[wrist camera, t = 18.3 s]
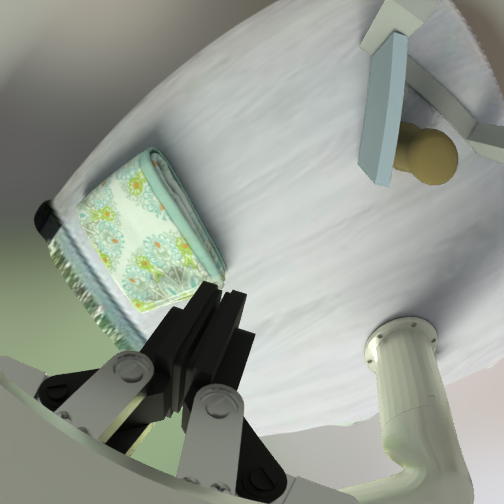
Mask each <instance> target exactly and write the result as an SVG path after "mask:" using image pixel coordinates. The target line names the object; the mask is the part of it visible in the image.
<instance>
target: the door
mask: <svg viewBox="0 0 504 504" xmlns="http://www.w3.org/2000/svg"><path fill="white" fill-rule="evenodd" d="M407 47H408V36H405V35H402V34H398V33H395V32H394V33H393V34H392V35H391V36H390V37H389V38H388V39H387V41H386V42H385V43H384V44H383V45H382V46H381V47H380V48H379V50H378V51H377V52H376V53H375V54H374V55H373V57H372V58H371V66H370V76H369V86H368V95H367V103H366V111H365V119H364V126H363V133H362V140H361V146H360V152H359V158H358V165H359V166H360V167H361V169H362V170H363V171H364V172H365V173H366V174H367V175H368V177H369V178H370V179H371V180H372V181H373V183H374V184H377V185H381V186H385V187H389V183H390V178H391V173H392V168H393V163H394V157H395V152H396V146H397V140H398V133H399V127H400V120H401V112H402V105H403V98H407V96H408V92H409V84H408V83H406V82H405V76H406V63H407Z"/></svg>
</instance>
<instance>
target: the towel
mask: <svg viewBox="0 0 504 504" xmlns="http://www.w3.org/2000/svg"><path fill="white" fill-rule="evenodd" d="M77 213H78V217H79V218H80V221H81V225H82V227H83V230H84V231H85V233H86V235H87V237H88V238H89V240H90V241H91V243H92V245H93V246H94V248H95V250H96V251H97V253H98V254H99V256H100V258H101V260H102V261H103V263H104V265H105V266H106V268H107V269H108V271H109V273H110V275H111V276H112V277H113V279H114V280H115V282H116V283H117V285H118V286H119V288H120V289H121V290H122V292H123V293H124V294H125V296H126V297H127V299H128V300H129V301H130V303H131V304H132V305H133V307H134V308H135V309H136V310H138V311H139V313H145V312H148V311H151V310H153V309H156V308H158V307H161V306H164V305H167V304H171V303H174V302H178V301H182V300H186V299H189V298H192V296H193V295H194V293H195V292H196V290H197V289H198V288H199V286H200V285H201V283H202V282H203V281H207V282H210V283H213V284H217V285H218V289H222V288H223V287H224V283H223V282H224V281H225V273H224V271H225V269H226V265H225V263H224V261H223V259H222V257H221V255H220V253H219V251H218V249H217V247H216V245H215V244H214V242H213V240H212V238H211V237H210V235H209V233H208V231H207V230H206V228H205V226H204V225H203V223H202V221H201V219H200V217H199V215H198V213H197V212H196V210H195V208H194V206H193V204H192V202H191V201H190V199H189V197H188V195H187V193H186V191H185V190H184V188H183V186H182V184H181V182H180V180H179V179H178V177H177V175H176V173H175V172H174V170H173V168H172V167H171V165H170V164H169V162H168V161H167V159H166V158H165V157H164V156H163V154H162V153H161V152H160V151H159V150H158V149H157V148H154V147H149V148H148V149H146V150H145V151H143V152H142V153H139V154H138V155H137V156H135V157H134V158H133V159H131V160H130V161H129V162H127V163H126V164H124V165H123V166H122V167H121V168H119V169H118V170H117V171H115V172H114V173H113V174H112V175H110V176H109V177H108V178H107V179H105V180H104V181H103V182H102V183H101V184H99V185H98V186H97V187H96V188H95V189H94V190H93V191H91V192H90V193H89V194H88V195H87V196H86V197H85V198H84V199H83V200H82V201H81V202H80V203H79V204H78V205H77Z"/></svg>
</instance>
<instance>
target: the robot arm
mask: <svg viewBox="0 0 504 504" xmlns="http://www.w3.org/2000/svg"><path fill="white" fill-rule="evenodd" d="M221 295H222V290H219V289H218V285H217V284H213V283H210V282H207V281H203V282H202V283H201V285H200V286H199V288H198V289H197V290H196V292H195V293H194V295H193V296H192V298H191V299H190V301H189V302H188V304H187V305H186V307H185V308H184V310H183V309H180V308H177V307H175V306H174V307H172V308H171V309H170V311H169V312H168V313H167V315H166V316H165V317H164V319H163V320H162V321H161V323H160V324H159V326H158V327H157V328H156V330H155V331H154V332H153V334H152V335H151V337H150V338H149V339H148V341H147V342H146V344H145V345H144V346H143V348H142V349H141V351H140V352H137V351H123V352H120V353H117V354H116V355H115V356H113V357H112V358H111V359H110V360H109V361H108V362H107V363H106V364H104V365H103V366H102V367H101V368H100V369H94V370H88V371H81V372H75V373H68V374H61V375H55V376H51V377H50V376H47V374H46V372H43V371H40V370H38V369H35V368H33V367H31V366H28V365H26V364H24V363H21V362H19V361H17V360H15V359H12V358H10V357H7V356H0V504H473V502H474V489H473V484H472V480H471V477H470V475H469V472H468V469H467V466H466V463H465V461H464V458H463V455H462V452H461V448H460V446H459V442H458V439H457V434H456V431H455V427H454V423H453V419H452V415H451V411H450V407H449V403H448V400H447V396H446V392H445V389H444V385H443V382H442V378H441V375H440V372H439V369H438V366H437V362H436V359H435V356H434V353H435V351H436V349H437V345H438V337H437V333H436V331H435V329H434V327H433V326H432V324H430V323H429V322H428V321H426V320H424V319H422V318H418V317H403V318H399V319H395V320H392V321H390V322H388V323H386V324H384V325H382V326H381V327H379V328H378V329H377V330H376V331H375V332H374V333H373V334H372V335H371V336H370V337H369V339H368V341H367V342H366V345H365V348H364V360H365V363H366V365H367V367H368V368H369V369H370V370H371V371H372V372H374V373H375V374H376V380H377V389H378V400H379V411H380V424H381V438H382V446H383V449H384V451H385V453H386V454H387V456H388V457H389V458H390V459H391V460H393V461H394V462H395V463H397V464H398V465H400V466H402V467H403V468H404V470H403V471H402V472H400V473H398V474H395V475H391V476H389V477H386V478H383V479H379V480H375V481H371V482H367V483H363V484H358V485H354V486H350V487H346V488H342V489H339V490H335V489H332V488H329V487H326V486H323V485H320V484H317V483H315V482H311V481H309V480H307V479H304V478H301V477H299V476H297V477H296V478H295V477H293V476H291V475H288V474H286V473H285V472H284V470H283V469H282V468H281V466H280V465H279V464H278V462H277V461H276V460H275V459H274V457H273V456H272V455H271V453H270V452H269V451H268V449H267V448H266V447H265V445H264V444H263V443H262V441H261V440H260V439H259V437H258V436H257V435H256V433H255V432H254V430H253V429H252V428H251V426H250V425H249V423H248V422H247V421H246V419H245V418H244V416H243V415H244V401H243V399H242V397H241V395H240V394H239V393H238V392H237V389H238V386H239V383H240V380H241V377H242V374H243V371H244V368H245V365H246V362H247V359H248V356H249V353H250V350H251V347H252V344H253V341H254V338H255V333H251V332H248V331H245V330H242V329H239V328H238V327H239V323H240V320H241V316H242V312H243V308H244V304H245V301H246V297H247V294H245V293H242V292H238V291H235V290H232V292H231V293H229V292H226V293H225V294H224V296H223V298H222V300H221ZM220 300H221V302H220ZM182 405H183V412H182V425H181V426H182V429H183V431H184V433H185V434H186V436H185V440H184V444H183V449H182V453H181V457H180V462H179V466H178V470H177V475H176V477H174V476H172V475H169V474H167V473H164V472H162V471H159V470H157V469H155V468H152V467H150V466H148V465H145V464H143V463H141V462H139V461H137V460H135V459H132V458H130V456H131V455H132V453H133V452H134V451H135V450H136V448H137V447H138V446H139V445H140V443H141V442H142V441H143V440H144V438H145V437H146V436H147V434H148V433H149V432H150V431H151V429H152V428H153V427H154V425H155V423H156V422H157V421H161V420H164V418H165V417H166V416H167V417H169V418H171V416H172V414H173V412H174V411H175V412H177V413H179V411H180V409H181V407H182Z"/></svg>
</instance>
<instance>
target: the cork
mask: <svg viewBox="0 0 504 504" xmlns="http://www.w3.org/2000/svg"><path fill="white" fill-rule="evenodd" d="M457 165H458V153H457V149H456V146H455V145H454V143H453V141H452V140H451V139H450V138H449V137H448V136H447V135H446V134H445V133H443V132H441V131H439V130H436V129H423V130H422V129H420V128H419V127H417V126H415V125H413V124H410V123H407V122H400V127H399V133H398V140H397V146H396V152H395V157H394V163H393V167H394V168H395V169H397V170H400V171H404V172H409V173H412V174H413V175H414V176H415V177H416V178H417V179H418V180H420V181H421V182H422V183H425V184H428V185H441V184H443V183H446V182H447V181H449V180H450V179H451V178H452V177H453V175H454V173H455V172H456V169H457Z"/></svg>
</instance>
